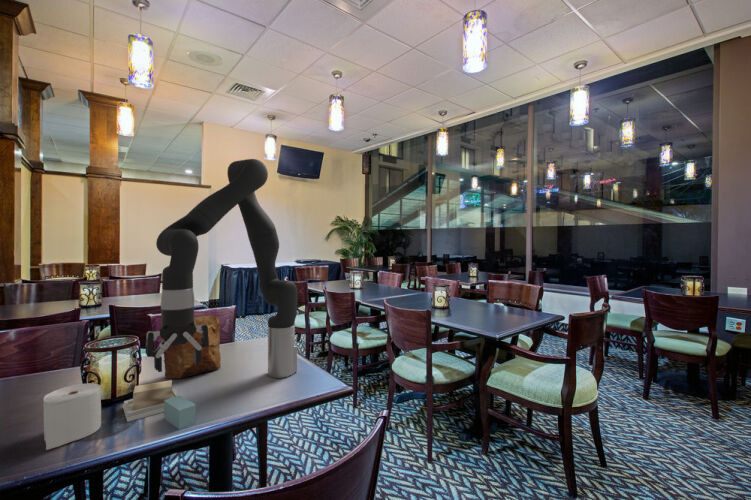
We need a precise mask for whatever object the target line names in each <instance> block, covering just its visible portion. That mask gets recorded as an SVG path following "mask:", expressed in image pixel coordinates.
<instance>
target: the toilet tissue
mask: <svg viewBox="0 0 751 500" xmlns="http://www.w3.org/2000/svg"><path fill="white" fill-rule="evenodd" d="M101 395H102V386H101V385H100V384H98V383H91V382H90V383H89V382H88V383H80V384H75V385H74V384H73V385H68V386H66V387H61V388H59V389H56V390H53V391H52V392H49V393H47V394H45V395H44V397H43V399H42V401H43V410H42V411H43V431H44V432H43V440H44V443H45V446H46V447H45V450H46V451H47V450H51V449H53V448H58V447H61V446H63V445H66V444H69V443H71V442H76V441H78V440H81V439H84V438H86V437H89V436H90V435H92V434H94V433H95V432H97V431H98V430H100V428H101V427H102V403H101V402H102V401H101V400H102V397H101Z"/></svg>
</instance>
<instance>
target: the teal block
mask: <svg viewBox="0 0 751 500" xmlns="http://www.w3.org/2000/svg"><path fill="white" fill-rule="evenodd" d="M196 411H197V410H196V404H195V403H194V402H192V401H190V400H189V399H187V398H186V397H184V396H182V395H180V394H179V396H176V397H173V398H170V399H167V400H164V412H163V416H164V417H163V418H164V420H165V421H167V422H168V423H170V424H171V425H173V426H174V427H175V428H176V429H178V431H180V430H183V429H185V428H187V427H190V426H192V425H195V424H196V422H197V421H196V419H197V417H196V415H197V414H196V413H197V412H196Z"/></svg>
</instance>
